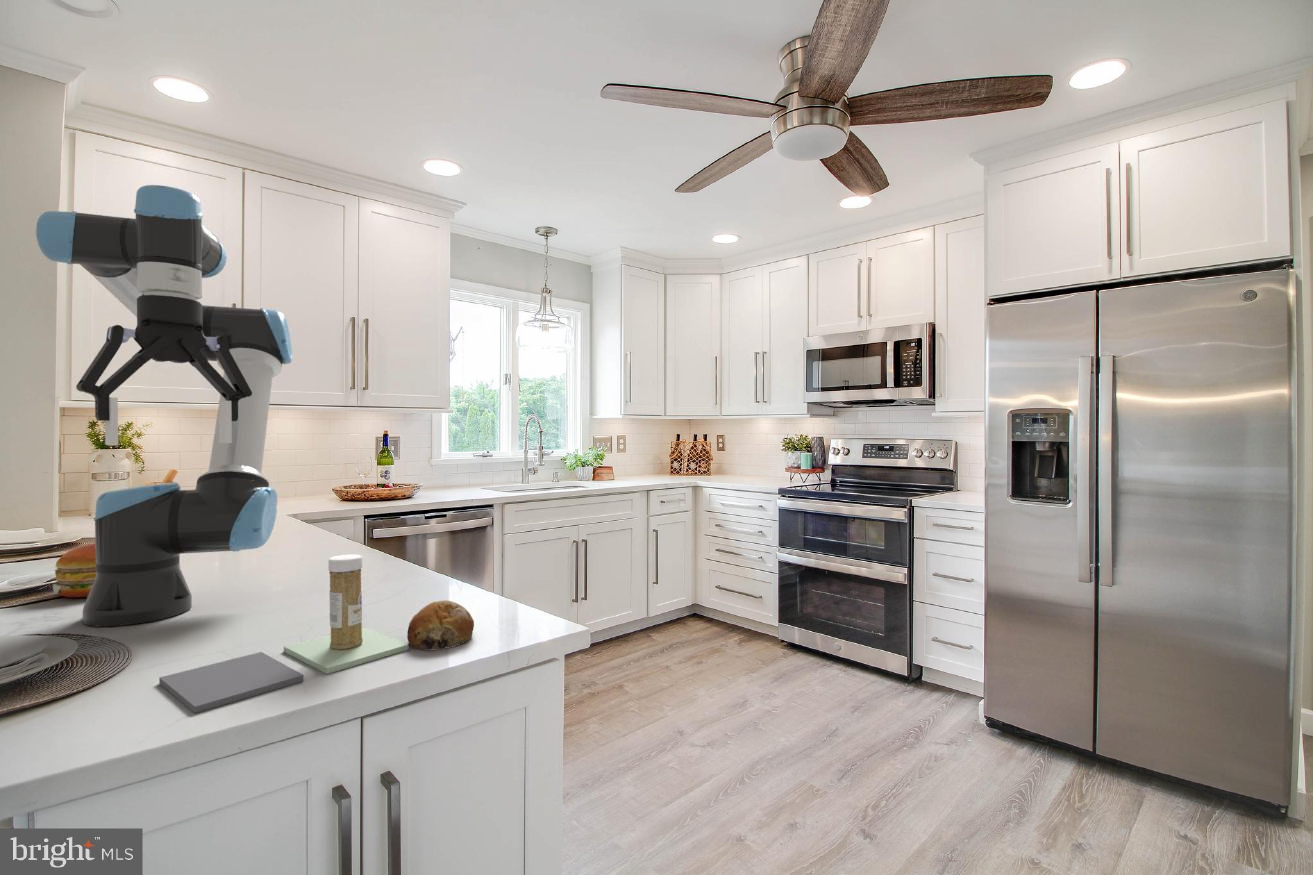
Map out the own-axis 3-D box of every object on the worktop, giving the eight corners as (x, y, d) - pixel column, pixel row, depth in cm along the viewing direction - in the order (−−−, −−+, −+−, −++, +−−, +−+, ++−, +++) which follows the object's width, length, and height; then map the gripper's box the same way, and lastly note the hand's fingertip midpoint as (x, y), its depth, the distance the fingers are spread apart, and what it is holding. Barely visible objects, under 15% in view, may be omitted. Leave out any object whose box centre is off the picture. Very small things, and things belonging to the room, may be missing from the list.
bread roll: (479, 659, 100) (491, 609, 104) (442, 651, 92) (456, 597, 95) (428, 652, 104) (441, 603, 107) (387, 644, 95) (403, 591, 98)
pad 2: (283, 651, 93) (283, 646, 93) (362, 631, 103) (362, 626, 103) (327, 673, 85) (326, 668, 85) (408, 649, 94) (408, 644, 94)
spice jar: (365, 646, 93) (364, 557, 93) (331, 652, 91) (330, 560, 91) (360, 638, 97) (359, 552, 97) (327, 643, 95) (326, 555, 94)
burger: (66, 605, 118) (66, 552, 118) (41, 595, 125) (40, 546, 125) (152, 589, 130) (151, 542, 130) (124, 581, 137) (124, 536, 137)
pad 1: (159, 683, 82) (159, 677, 82) (261, 657, 91) (261, 651, 91) (195, 713, 73) (195, 706, 73) (303, 680, 82) (303, 674, 82)
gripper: (59, 278, 78) (62, 447, 79) (274, 308, 98) (275, 442, 99) (45, 285, 82) (48, 445, 83) (254, 313, 103) (255, 441, 103)
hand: (172, 444), depth 91 cm, fingers open, 13 cm apart
